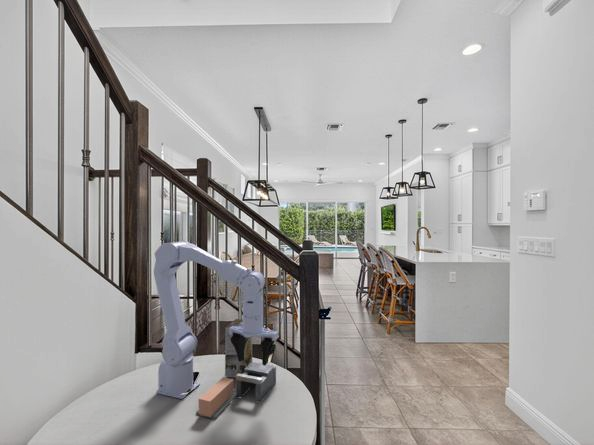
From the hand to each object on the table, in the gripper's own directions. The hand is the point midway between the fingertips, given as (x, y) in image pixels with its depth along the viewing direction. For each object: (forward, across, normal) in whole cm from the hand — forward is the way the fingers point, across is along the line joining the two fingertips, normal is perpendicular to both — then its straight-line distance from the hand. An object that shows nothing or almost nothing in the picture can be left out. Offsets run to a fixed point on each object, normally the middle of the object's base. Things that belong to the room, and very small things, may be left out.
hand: (253, 361), depth 86 cm
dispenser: (+10, 0, +3) cm, 10 cm away
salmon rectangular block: (+9, -7, -7) cm, 14 cm away
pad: (+10, -7, -6) cm, 14 cm away
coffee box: (+10, -11, +12) cm, 19 cm away
